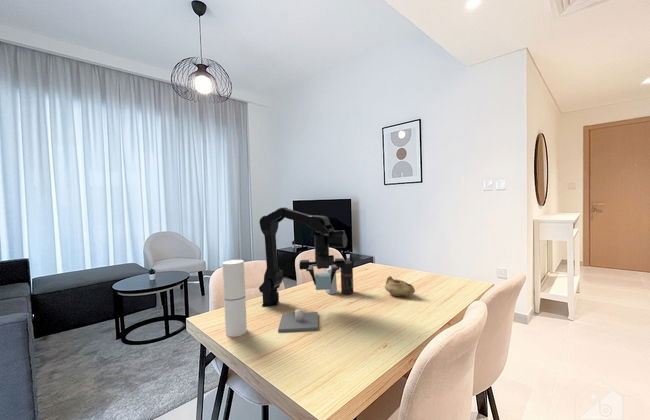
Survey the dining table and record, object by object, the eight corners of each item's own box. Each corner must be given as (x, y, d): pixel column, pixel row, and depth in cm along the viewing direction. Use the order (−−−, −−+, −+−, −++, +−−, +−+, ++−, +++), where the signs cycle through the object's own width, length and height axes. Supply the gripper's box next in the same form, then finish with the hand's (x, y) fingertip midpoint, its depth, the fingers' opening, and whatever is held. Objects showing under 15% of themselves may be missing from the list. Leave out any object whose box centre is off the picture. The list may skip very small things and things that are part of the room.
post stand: (278, 332, 100) (277, 319, 100) (282, 316, 114) (282, 304, 114) (318, 330, 100) (317, 317, 100) (317, 314, 114) (317, 302, 114)
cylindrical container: (227, 338, 96) (224, 265, 96) (224, 330, 103) (221, 261, 102) (248, 333, 100) (245, 262, 99) (244, 325, 106) (241, 259, 105)
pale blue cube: (315, 290, 114) (315, 277, 114) (315, 285, 121) (315, 273, 121) (331, 289, 115) (330, 277, 115) (330, 284, 121) (329, 273, 121)
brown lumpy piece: (411, 301, 125) (410, 283, 125) (380, 295, 134) (379, 278, 134) (420, 294, 133) (419, 277, 133) (390, 289, 143) (389, 273, 143)
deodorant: (352, 294, 136) (351, 263, 136) (340, 294, 138) (339, 263, 137) (354, 291, 142) (353, 261, 142) (342, 290, 143) (341, 261, 143)
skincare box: (337, 293, 139) (336, 268, 139) (328, 294, 138) (328, 269, 137) (332, 289, 145) (332, 266, 145) (324, 291, 144) (323, 267, 143)
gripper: (298, 251, 109) (299, 291, 109) (346, 249, 110) (348, 289, 110) (299, 246, 120) (300, 283, 120) (343, 244, 121) (344, 281, 121)
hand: (323, 284), depth 118 cm, fingers closed on pale blue cube, 6 cm apart
